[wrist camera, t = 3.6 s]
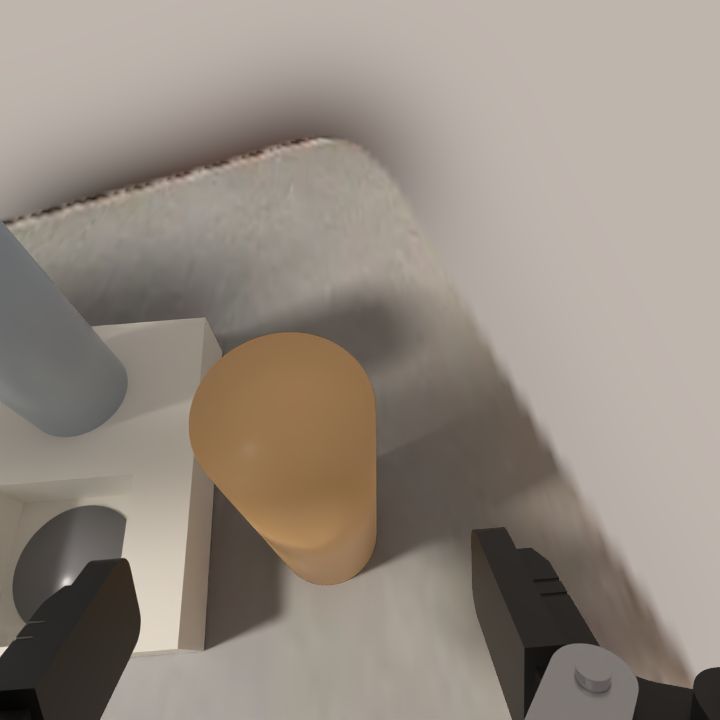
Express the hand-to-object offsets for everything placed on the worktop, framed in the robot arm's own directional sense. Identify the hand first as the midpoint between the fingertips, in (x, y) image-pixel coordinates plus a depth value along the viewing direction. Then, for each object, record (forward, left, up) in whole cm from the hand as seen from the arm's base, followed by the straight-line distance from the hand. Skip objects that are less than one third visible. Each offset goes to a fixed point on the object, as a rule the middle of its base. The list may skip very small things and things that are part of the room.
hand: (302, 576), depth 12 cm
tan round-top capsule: (-1, +3, -9) cm, 10 cm away
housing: (-11, +2, -9) cm, 15 cm away
